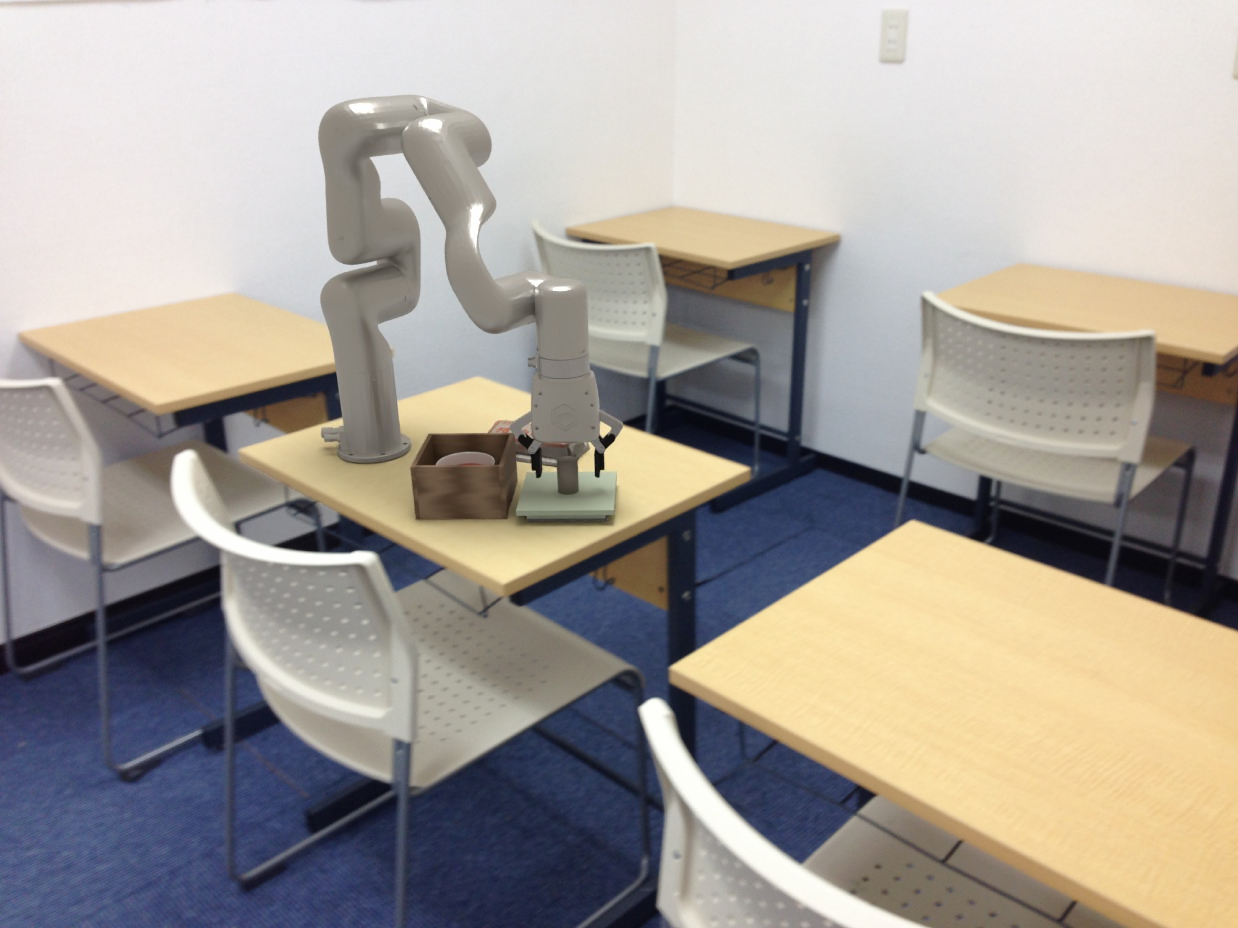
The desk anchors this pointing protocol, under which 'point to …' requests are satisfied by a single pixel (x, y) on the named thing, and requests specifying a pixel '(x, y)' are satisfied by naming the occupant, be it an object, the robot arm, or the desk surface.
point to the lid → (567, 493)
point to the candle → (467, 459)
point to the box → (464, 477)
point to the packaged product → (541, 446)
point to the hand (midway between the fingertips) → (568, 474)
